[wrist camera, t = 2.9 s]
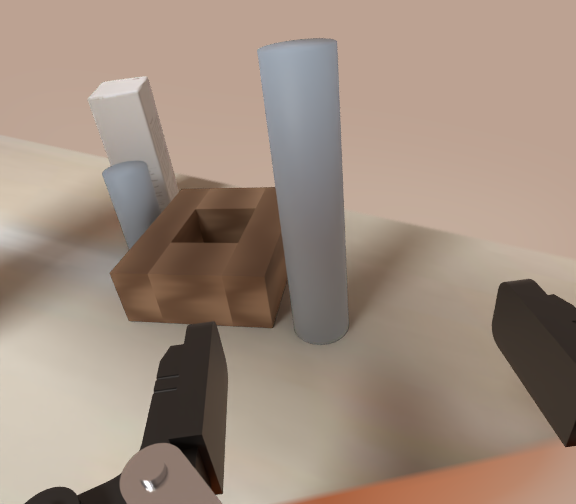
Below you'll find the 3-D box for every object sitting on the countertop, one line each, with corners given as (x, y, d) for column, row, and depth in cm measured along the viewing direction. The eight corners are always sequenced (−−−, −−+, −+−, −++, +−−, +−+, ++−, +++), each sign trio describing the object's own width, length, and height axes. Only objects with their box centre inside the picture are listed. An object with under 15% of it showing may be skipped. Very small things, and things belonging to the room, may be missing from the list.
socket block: (128, 320, 30) (109, 273, 28) (192, 229, 40) (181, 189, 37) (272, 327, 28) (264, 276, 26) (302, 229, 37) (297, 186, 35)
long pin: (289, 343, 26) (248, 56, 18) (298, 305, 29) (266, 42, 21) (346, 346, 26) (333, 49, 17) (350, 307, 29) (340, 35, 20)
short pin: (122, 255, 37) (93, 178, 33) (140, 234, 40) (115, 161, 36) (159, 256, 36) (134, 177, 33) (175, 234, 39) (154, 160, 35)
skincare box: (139, 201, 46) (100, 81, 39) (180, 195, 46) (149, 74, 40) (131, 230, 41) (85, 97, 34) (177, 222, 41) (140, 89, 35)
